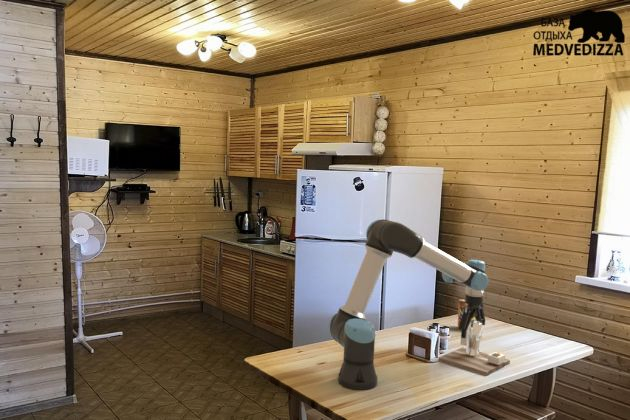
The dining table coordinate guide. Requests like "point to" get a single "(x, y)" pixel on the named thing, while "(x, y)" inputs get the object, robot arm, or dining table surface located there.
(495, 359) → the cream block with hole
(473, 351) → the clear glass bottle
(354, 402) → the dining table surface
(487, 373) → the board
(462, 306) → the candy box
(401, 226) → the robot arm
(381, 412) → the dining table surface
